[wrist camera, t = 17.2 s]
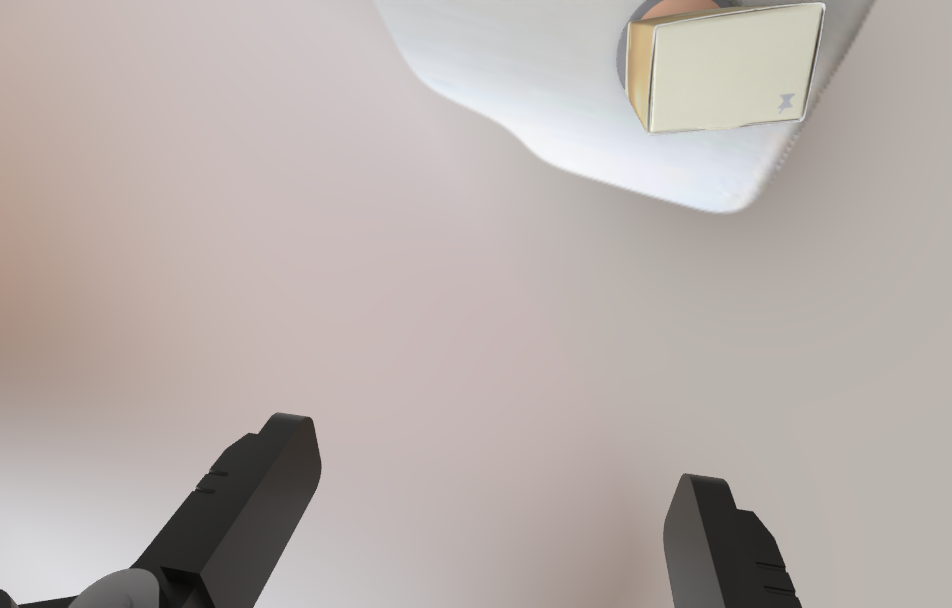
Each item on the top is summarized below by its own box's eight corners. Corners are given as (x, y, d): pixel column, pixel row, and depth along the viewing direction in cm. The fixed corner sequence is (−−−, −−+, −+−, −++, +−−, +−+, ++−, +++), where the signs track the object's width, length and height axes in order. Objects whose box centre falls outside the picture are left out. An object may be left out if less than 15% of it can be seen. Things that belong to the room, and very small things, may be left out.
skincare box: (738, 4, 28) (841, -5, 17) (728, 87, 30) (814, 123, 19) (621, 21, 29) (652, 21, 18) (619, 98, 31) (646, 138, 21)
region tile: (607, 108, 32) (608, 110, 31) (628, -18, 29) (629, -19, 28) (717, 115, 31) (721, 117, 31) (752, -14, 28) (757, -15, 27)
